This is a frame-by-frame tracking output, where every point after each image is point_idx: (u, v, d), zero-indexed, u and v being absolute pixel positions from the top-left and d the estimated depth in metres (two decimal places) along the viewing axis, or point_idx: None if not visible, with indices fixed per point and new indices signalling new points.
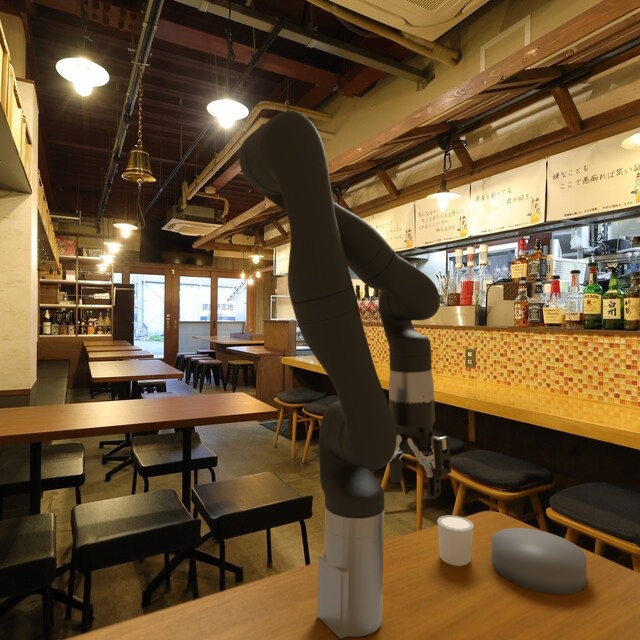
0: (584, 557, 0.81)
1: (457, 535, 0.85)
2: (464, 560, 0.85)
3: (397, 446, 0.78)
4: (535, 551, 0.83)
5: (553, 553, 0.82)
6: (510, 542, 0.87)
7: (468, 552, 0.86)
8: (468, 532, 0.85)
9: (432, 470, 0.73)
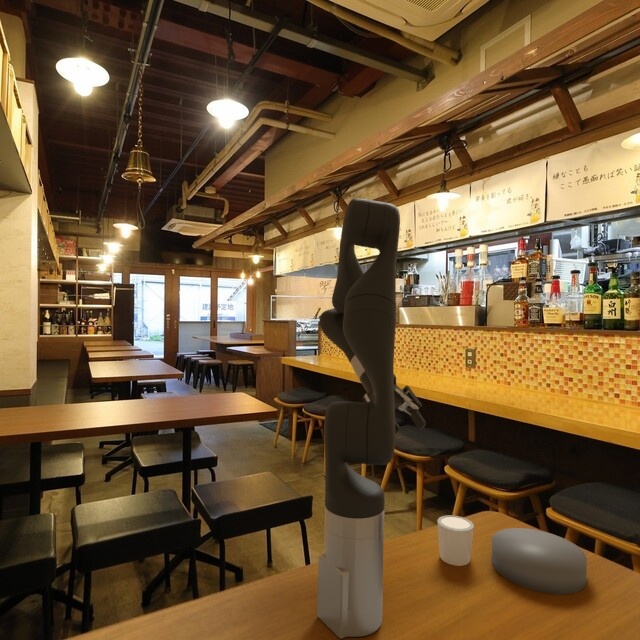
0: (584, 557, 0.81)
1: (457, 535, 0.85)
2: (464, 560, 0.85)
3: None
4: (535, 551, 0.83)
5: (553, 553, 0.82)
6: (510, 542, 0.87)
7: (468, 552, 0.86)
8: (468, 532, 0.85)
9: None
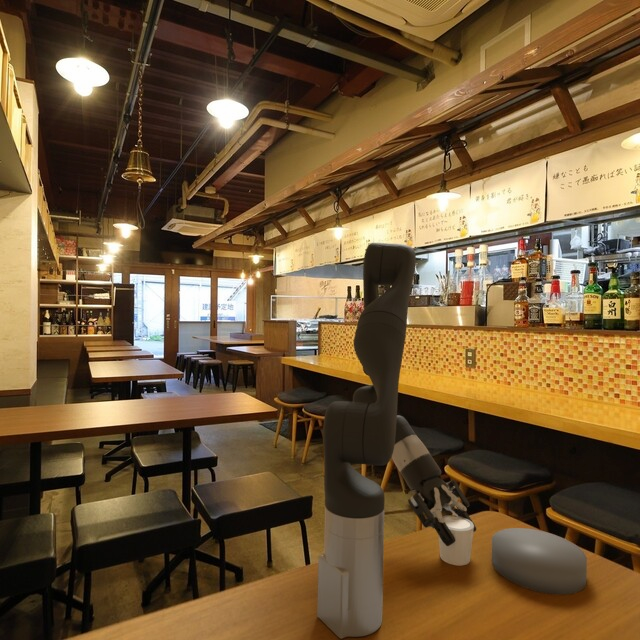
0: (584, 557, 0.81)
1: (457, 535, 0.85)
2: (464, 560, 0.85)
3: (439, 499, 0.89)
4: (535, 551, 0.83)
5: (553, 553, 0.82)
6: (510, 542, 0.87)
7: (468, 552, 0.86)
8: (468, 532, 0.85)
9: None
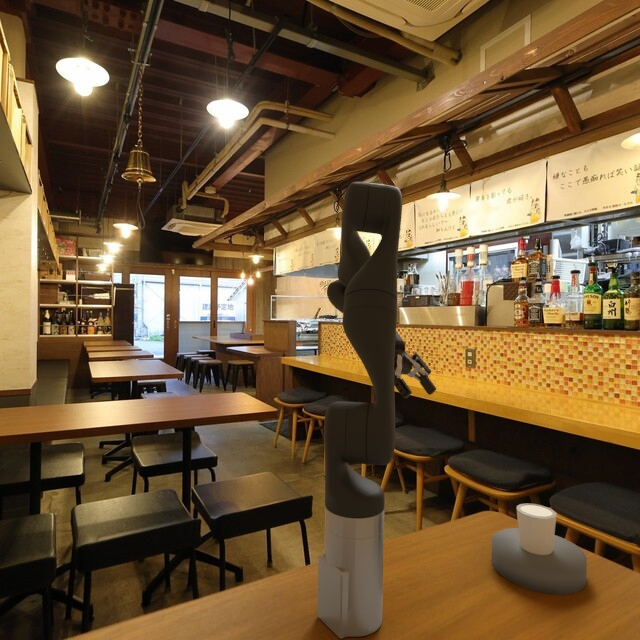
0: (584, 557, 0.81)
1: (542, 523, 0.81)
2: (548, 549, 0.82)
3: (400, 363, 0.98)
4: None
5: (553, 553, 0.82)
6: (510, 542, 0.87)
7: (552, 541, 0.82)
8: (553, 520, 0.82)
9: None
